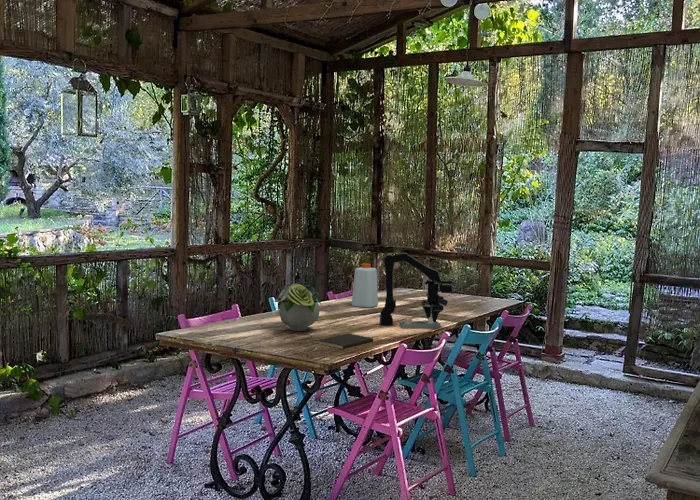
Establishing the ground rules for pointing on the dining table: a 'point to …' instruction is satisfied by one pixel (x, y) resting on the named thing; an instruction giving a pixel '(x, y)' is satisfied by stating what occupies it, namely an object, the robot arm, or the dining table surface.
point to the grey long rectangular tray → (419, 325)
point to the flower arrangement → (298, 306)
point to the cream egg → (430, 320)
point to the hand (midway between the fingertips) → (431, 320)
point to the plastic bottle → (365, 287)
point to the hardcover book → (345, 341)
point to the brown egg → (407, 320)
